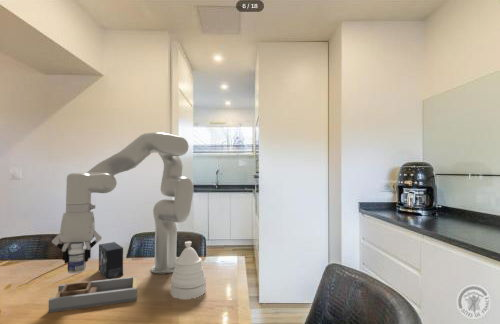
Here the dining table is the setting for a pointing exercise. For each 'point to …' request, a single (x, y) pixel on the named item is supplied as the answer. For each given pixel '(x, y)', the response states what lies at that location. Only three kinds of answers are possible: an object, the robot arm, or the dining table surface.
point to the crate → (77, 289)
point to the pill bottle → (76, 258)
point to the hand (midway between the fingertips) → (76, 260)
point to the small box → (110, 260)
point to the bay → (98, 295)
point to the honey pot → (188, 275)
